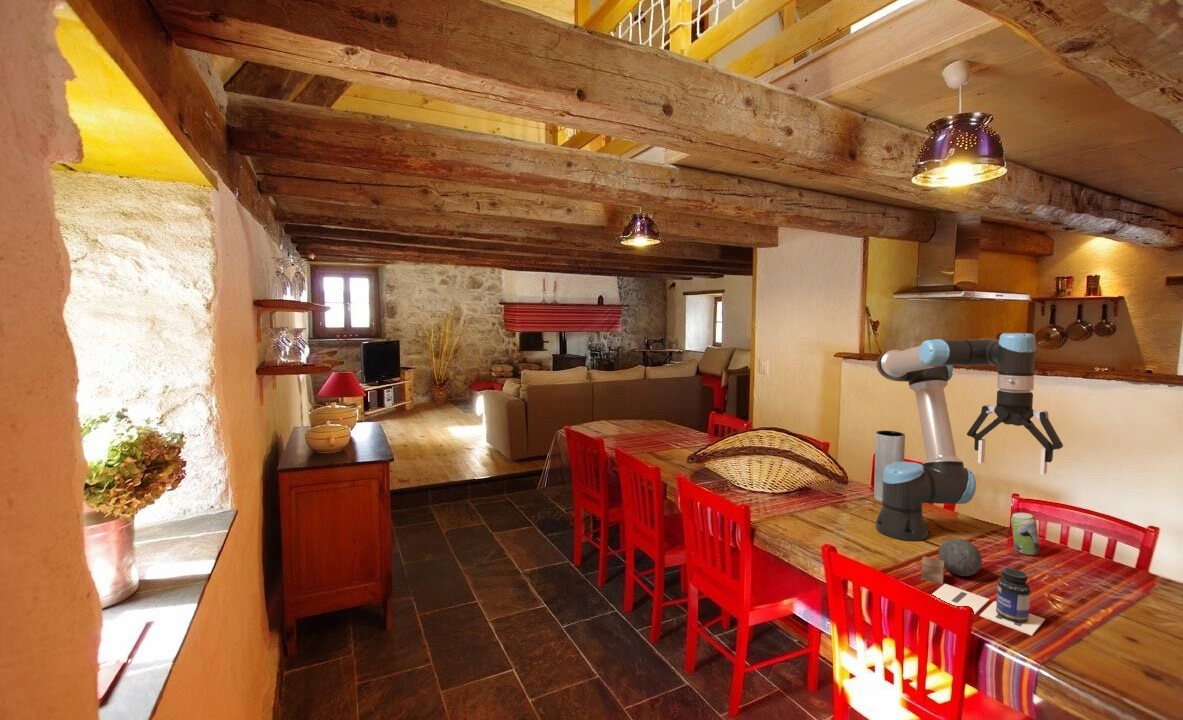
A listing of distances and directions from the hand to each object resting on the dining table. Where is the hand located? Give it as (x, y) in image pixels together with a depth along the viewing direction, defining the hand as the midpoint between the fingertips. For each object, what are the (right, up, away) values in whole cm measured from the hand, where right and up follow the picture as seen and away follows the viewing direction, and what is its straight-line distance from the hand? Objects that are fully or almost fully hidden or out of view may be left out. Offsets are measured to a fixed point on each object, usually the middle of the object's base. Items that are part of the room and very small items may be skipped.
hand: (1010, 467), depth 141 cm
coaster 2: (-12, -33, -15) cm, 39 cm away
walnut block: (-19, -32, +4) cm, 37 cm away
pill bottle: (-12, -33, -16) cm, 38 cm away
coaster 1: (-19, -33, -7) cm, 38 cm away
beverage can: (+19, -30, +19) cm, 41 cm away
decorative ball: (-10, -32, +6) cm, 34 cm away
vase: (+4, -27, +66) cm, 71 cm away
